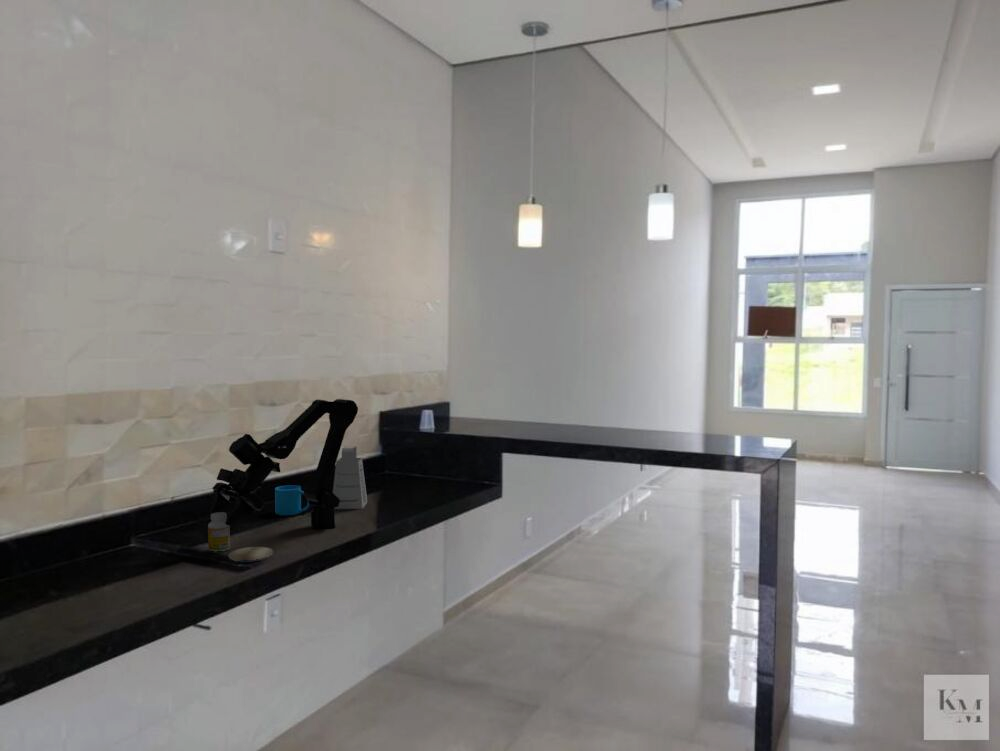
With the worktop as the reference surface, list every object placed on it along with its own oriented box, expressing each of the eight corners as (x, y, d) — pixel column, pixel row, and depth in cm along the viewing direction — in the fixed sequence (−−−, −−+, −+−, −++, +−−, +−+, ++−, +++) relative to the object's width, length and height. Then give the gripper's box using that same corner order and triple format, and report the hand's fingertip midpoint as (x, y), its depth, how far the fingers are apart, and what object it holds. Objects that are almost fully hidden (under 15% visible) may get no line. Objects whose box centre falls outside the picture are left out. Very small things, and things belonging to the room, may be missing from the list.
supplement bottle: (212, 547, 198) (211, 511, 197) (232, 546, 198) (231, 511, 198) (205, 552, 192) (205, 516, 192) (226, 552, 193) (226, 516, 192)
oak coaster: (274, 549, 196) (274, 545, 195) (270, 561, 185) (270, 557, 185) (231, 551, 193) (231, 548, 193) (225, 564, 182) (225, 560, 182)
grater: (367, 501, 254) (367, 444, 253) (362, 508, 243) (362, 449, 242) (337, 502, 253) (336, 444, 252) (331, 509, 243) (330, 449, 242)
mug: (270, 514, 235) (270, 489, 234) (283, 509, 243) (282, 484, 242) (304, 516, 232) (304, 491, 232) (316, 510, 240) (316, 486, 240)
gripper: (218, 453, 204) (180, 498, 196) (253, 461, 192) (214, 509, 184) (245, 477, 210) (208, 522, 203) (280, 486, 198) (243, 534, 190)
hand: (217, 521), depth 195 cm, fingers open, 9 cm apart
